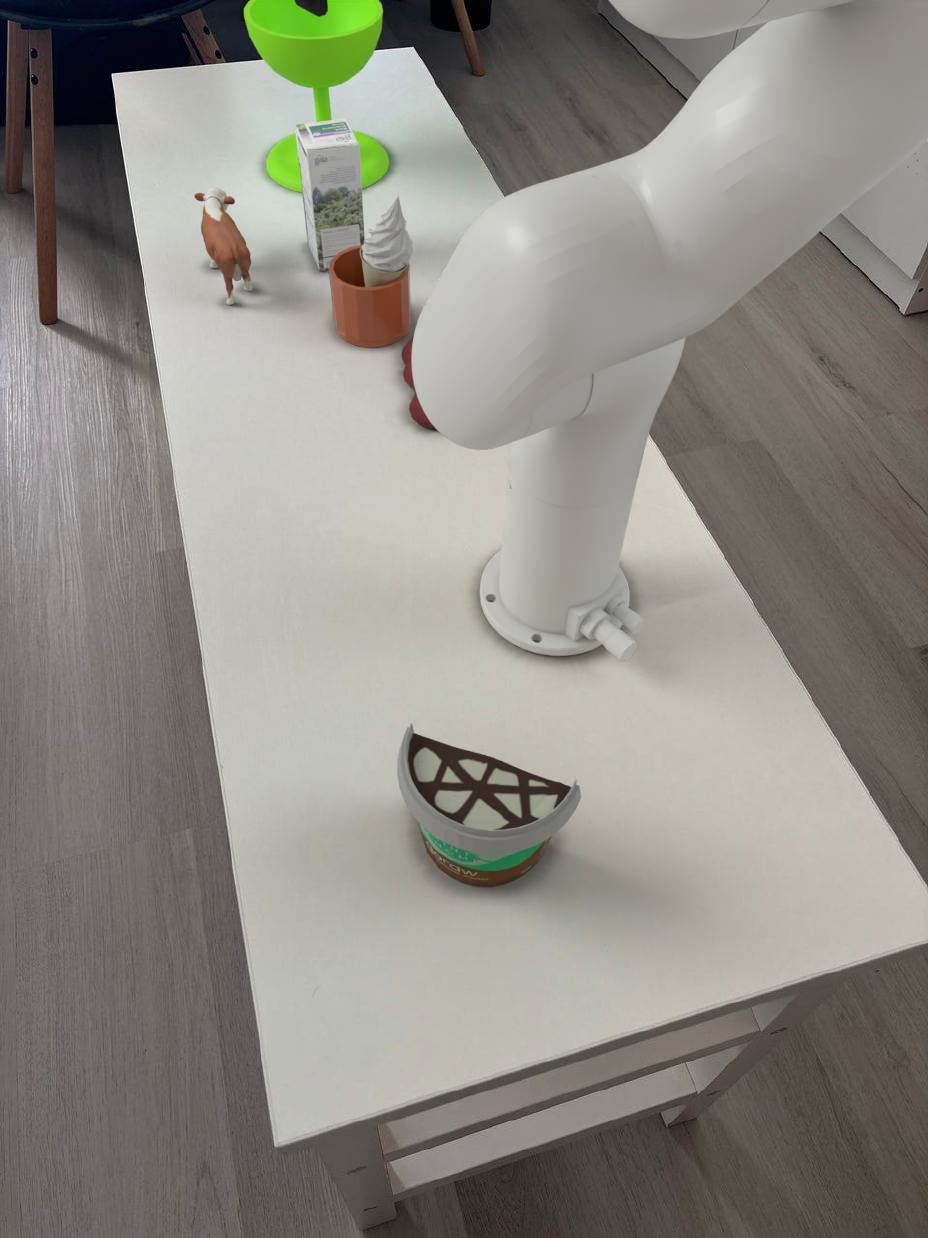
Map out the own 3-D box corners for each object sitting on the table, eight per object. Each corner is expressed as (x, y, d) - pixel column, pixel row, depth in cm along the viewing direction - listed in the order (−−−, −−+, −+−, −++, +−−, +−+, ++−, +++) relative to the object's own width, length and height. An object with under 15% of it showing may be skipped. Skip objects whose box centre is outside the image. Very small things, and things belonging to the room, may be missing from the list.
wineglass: (353, 122, 134) (343, -27, 120) (411, 174, 126) (408, 20, 111) (245, 150, 128) (221, -2, 114) (299, 207, 120) (279, 50, 106)
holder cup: (426, 327, 106) (425, 269, 100) (366, 357, 102) (362, 299, 97) (378, 293, 110) (375, 235, 104) (319, 321, 106) (313, 263, 101)
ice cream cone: (388, 340, 104) (416, 219, 92) (342, 324, 104) (364, 201, 91) (399, 311, 107) (428, 190, 95) (355, 295, 107) (378, 172, 94)
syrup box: (354, 238, 116) (345, 114, 105) (367, 265, 113) (359, 140, 101) (307, 246, 115) (293, 121, 104) (319, 273, 112) (305, 147, 100)
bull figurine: (240, 243, 115) (228, 175, 109) (261, 308, 107) (250, 239, 101) (202, 248, 114) (188, 181, 108) (222, 314, 107) (208, 246, 100)
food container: (372, 867, 68) (364, 799, 60) (407, 792, 72) (403, 720, 64) (541, 930, 65) (555, 869, 58) (568, 850, 69) (585, 782, 61)
